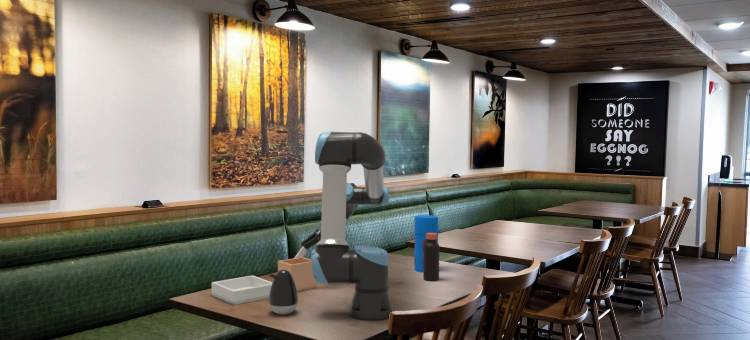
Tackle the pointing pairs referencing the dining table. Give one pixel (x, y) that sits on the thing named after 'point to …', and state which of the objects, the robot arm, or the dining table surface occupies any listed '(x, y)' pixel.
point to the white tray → (241, 289)
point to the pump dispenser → (283, 293)
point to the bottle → (431, 258)
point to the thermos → (423, 237)
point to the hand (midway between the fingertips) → (305, 263)
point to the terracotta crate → (299, 272)
